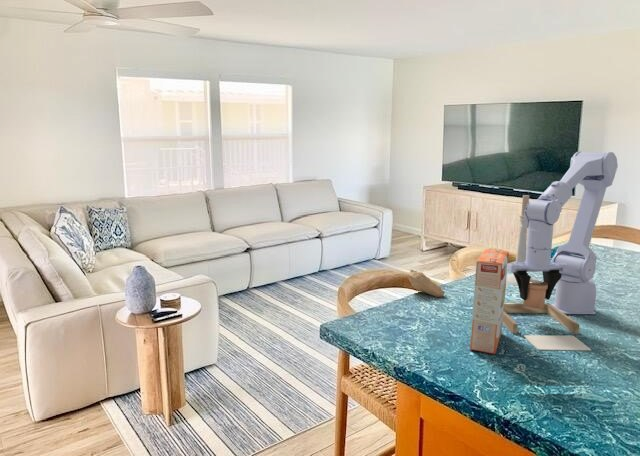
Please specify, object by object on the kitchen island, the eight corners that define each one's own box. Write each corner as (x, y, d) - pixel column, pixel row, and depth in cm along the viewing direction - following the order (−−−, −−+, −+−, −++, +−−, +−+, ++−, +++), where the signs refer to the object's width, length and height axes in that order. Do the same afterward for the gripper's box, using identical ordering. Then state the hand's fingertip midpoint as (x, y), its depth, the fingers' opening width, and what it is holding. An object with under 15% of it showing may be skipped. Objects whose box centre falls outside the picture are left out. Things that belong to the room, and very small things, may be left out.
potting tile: (573, 336, 117) (573, 335, 117) (591, 350, 109) (591, 349, 109) (523, 336, 117) (523, 335, 117) (537, 350, 109) (538, 349, 109)
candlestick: (527, 291, 153) (535, 196, 147) (491, 282, 162) (497, 193, 157) (547, 284, 161) (555, 194, 155) (511, 275, 170) (518, 191, 165)
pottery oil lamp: (436, 301, 142) (437, 278, 141) (400, 293, 150) (401, 271, 149) (449, 294, 149) (450, 272, 148) (415, 287, 156) (415, 266, 155)
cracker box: (497, 355, 106) (504, 263, 102) (468, 350, 109) (474, 260, 105) (503, 333, 118) (509, 250, 115) (478, 329, 121) (483, 248, 117)
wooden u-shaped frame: (548, 311, 134) (549, 303, 134) (578, 334, 118) (579, 324, 118) (490, 311, 134) (491, 302, 134) (512, 333, 118) (513, 324, 118)
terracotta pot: (539, 302, 128) (542, 279, 127) (549, 309, 122) (552, 285, 121) (518, 301, 128) (521, 278, 127) (527, 308, 122) (529, 285, 121)
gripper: (558, 243, 127) (553, 293, 129) (504, 244, 126) (500, 294, 128) (573, 249, 120) (568, 301, 122) (516, 250, 119) (512, 302, 121)
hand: (534, 298), depth 125 cm, fingers closed on terracotta pot, 5 cm apart
